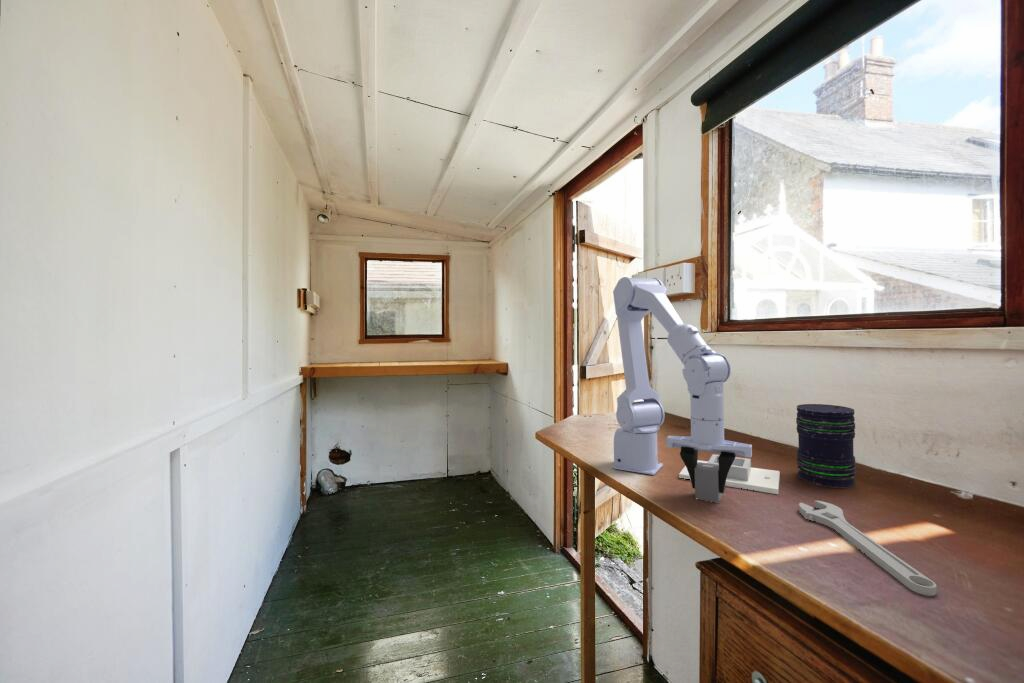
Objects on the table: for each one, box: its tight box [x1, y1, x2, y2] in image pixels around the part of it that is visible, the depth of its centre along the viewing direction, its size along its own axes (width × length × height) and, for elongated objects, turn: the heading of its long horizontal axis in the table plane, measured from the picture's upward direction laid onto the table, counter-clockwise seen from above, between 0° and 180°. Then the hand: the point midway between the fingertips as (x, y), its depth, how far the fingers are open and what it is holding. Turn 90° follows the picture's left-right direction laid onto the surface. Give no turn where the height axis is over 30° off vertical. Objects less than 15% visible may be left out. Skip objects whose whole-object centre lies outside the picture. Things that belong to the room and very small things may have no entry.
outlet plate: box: [678, 453, 781, 495], centre depth 90 cm, size 18×12×4 cm, turn 56°
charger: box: [694, 462, 723, 504], centre depth 80 cm, size 4×4×6 cm
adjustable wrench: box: [798, 500, 937, 597], centre depth 62 cm, size 25×6×2 cm, turn 167°
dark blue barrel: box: [795, 403, 857, 489], centre depth 88 cm, size 10×10×15 cm
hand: (708, 489), depth 80 cm, fingers closed on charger, 4 cm apart
